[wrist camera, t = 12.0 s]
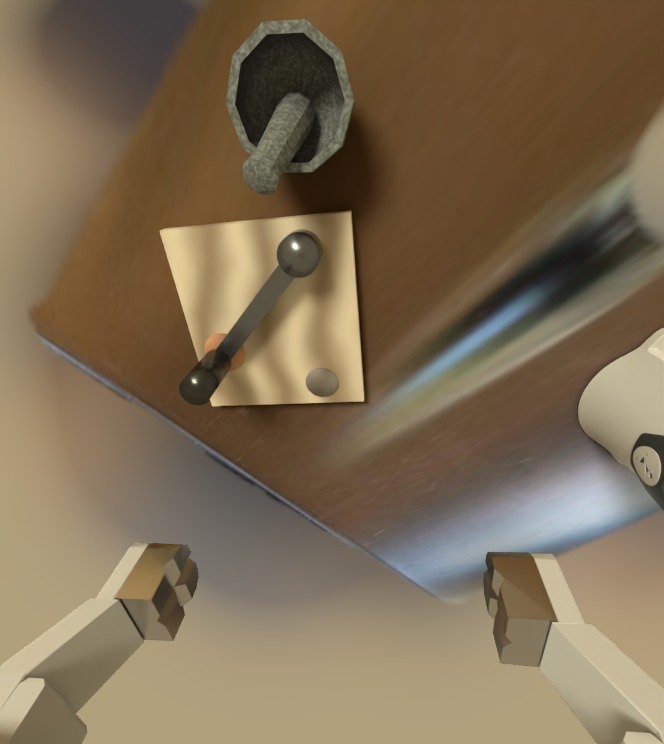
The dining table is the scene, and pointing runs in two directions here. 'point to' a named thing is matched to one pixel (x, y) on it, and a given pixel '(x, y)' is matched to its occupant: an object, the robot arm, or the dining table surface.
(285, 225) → the lever board
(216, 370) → the lever
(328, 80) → the mortar and pestle
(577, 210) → the dining table surface
